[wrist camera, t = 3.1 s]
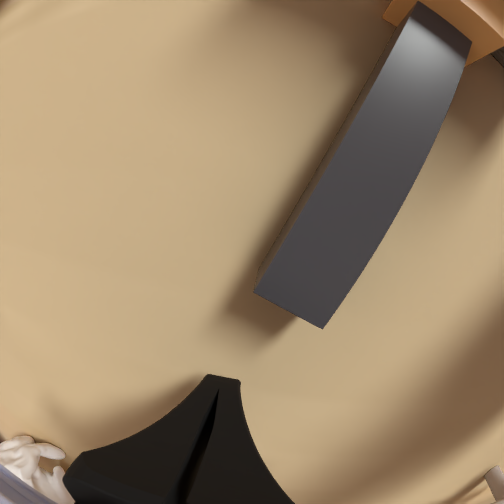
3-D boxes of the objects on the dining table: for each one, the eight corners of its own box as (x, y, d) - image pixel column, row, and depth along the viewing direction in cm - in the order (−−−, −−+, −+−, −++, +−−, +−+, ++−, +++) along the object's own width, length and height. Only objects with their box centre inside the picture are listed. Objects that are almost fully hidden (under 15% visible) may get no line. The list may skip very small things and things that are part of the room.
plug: (329, 308, 11) (350, 364, 7) (241, 259, 11) (221, 298, 7) (472, 24, 7) (513, -6, 4) (406, -23, 7) (434, -67, 3)
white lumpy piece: (-1, 497, 7) (92, 556, 11) (45, 426, 16) (115, 497, 19) (-33, 469, 8) (49, 534, 12) (8, 413, 16) (74, 484, 20)
